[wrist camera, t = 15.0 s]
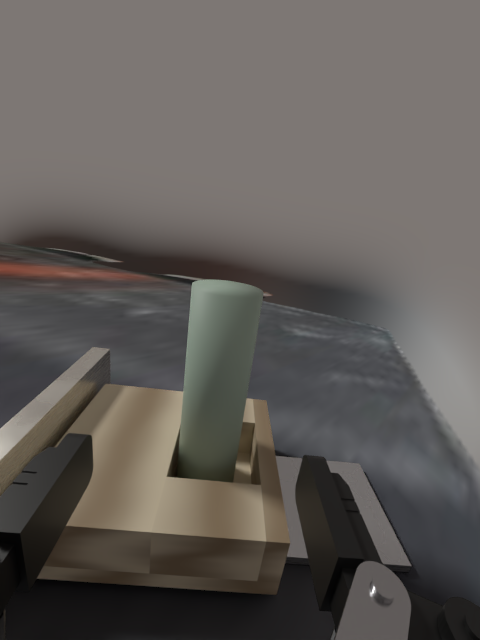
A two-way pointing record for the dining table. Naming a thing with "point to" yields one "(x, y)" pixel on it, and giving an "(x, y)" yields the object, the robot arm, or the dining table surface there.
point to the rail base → (94, 372)
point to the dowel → (217, 377)
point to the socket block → (171, 503)
